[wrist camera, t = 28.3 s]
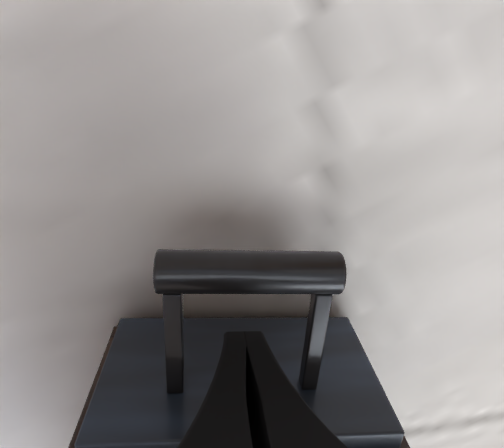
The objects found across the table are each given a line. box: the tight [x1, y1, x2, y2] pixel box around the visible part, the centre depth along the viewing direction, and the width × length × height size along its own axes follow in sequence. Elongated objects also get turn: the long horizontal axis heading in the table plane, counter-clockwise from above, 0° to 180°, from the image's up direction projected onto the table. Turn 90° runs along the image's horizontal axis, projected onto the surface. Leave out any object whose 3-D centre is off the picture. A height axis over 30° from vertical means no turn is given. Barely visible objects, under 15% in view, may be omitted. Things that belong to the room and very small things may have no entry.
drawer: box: [74, 249, 404, 448], centre depth 17 cm, size 18×11×6 cm, turn 177°
